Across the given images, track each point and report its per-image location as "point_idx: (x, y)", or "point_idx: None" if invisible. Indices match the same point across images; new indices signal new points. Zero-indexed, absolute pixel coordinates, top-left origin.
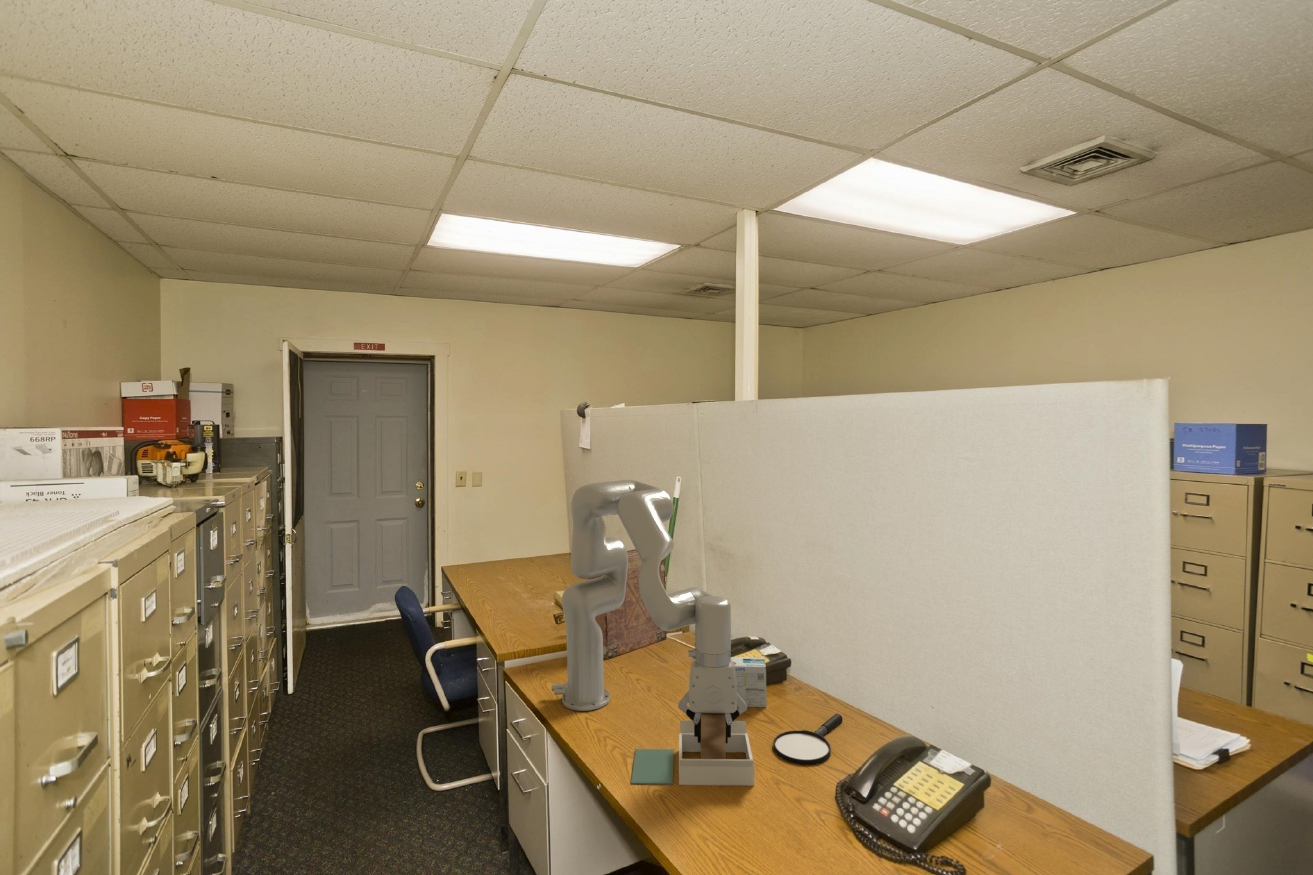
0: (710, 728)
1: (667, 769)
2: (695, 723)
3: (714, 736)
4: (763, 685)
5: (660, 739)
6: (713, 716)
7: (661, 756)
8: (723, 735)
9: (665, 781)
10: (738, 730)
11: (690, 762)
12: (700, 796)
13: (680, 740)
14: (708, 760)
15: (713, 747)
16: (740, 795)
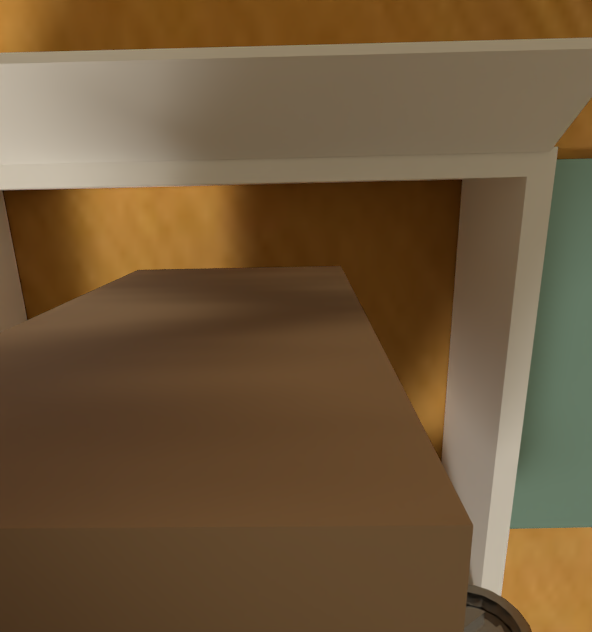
0: (198, 381)
1: (550, 318)
2: (469, 600)
3: (164, 333)
4: None
5: (552, 619)
6: None
7: (572, 455)
8: (12, 341)
9: (580, 175)
10: None
11: (471, 89)
12: (343, 16)
13: (498, 528)
14: (273, 51)
15: (213, 293)
16: (63, 43)
